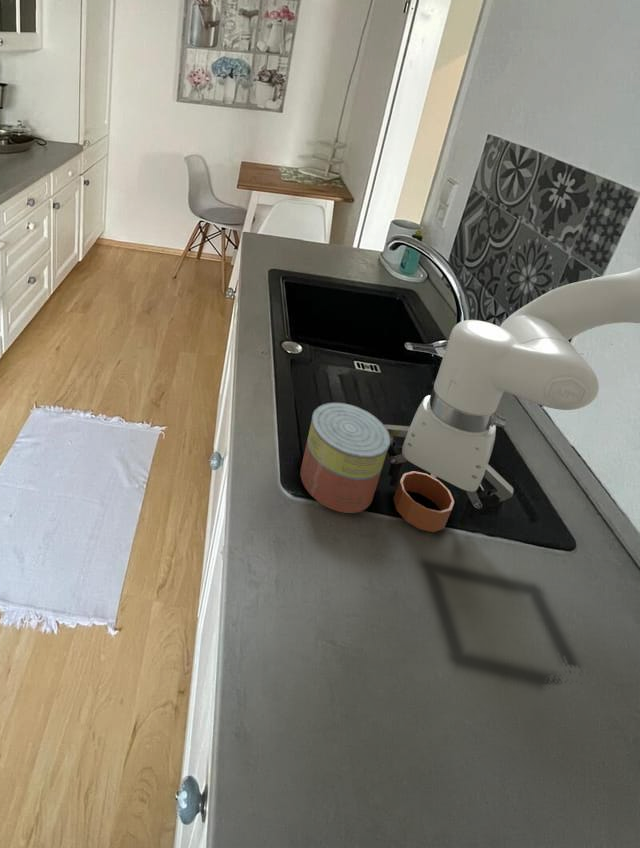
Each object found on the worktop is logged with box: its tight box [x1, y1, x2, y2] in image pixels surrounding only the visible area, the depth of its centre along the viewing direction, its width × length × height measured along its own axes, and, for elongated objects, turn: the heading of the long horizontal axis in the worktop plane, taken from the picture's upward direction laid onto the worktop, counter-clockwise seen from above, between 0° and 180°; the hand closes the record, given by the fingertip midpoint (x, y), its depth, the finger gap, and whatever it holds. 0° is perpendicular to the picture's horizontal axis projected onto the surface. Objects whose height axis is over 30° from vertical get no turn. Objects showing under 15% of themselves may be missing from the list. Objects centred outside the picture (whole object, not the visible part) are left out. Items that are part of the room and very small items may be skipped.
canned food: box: [299, 402, 391, 514], centre depth 78 cm, size 11×11×12 cm
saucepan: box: [392, 470, 456, 533], centre depth 77 cm, size 13×7×5 cm, turn 139°
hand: (427, 498), depth 75 cm, fingers open, 9 cm apart
